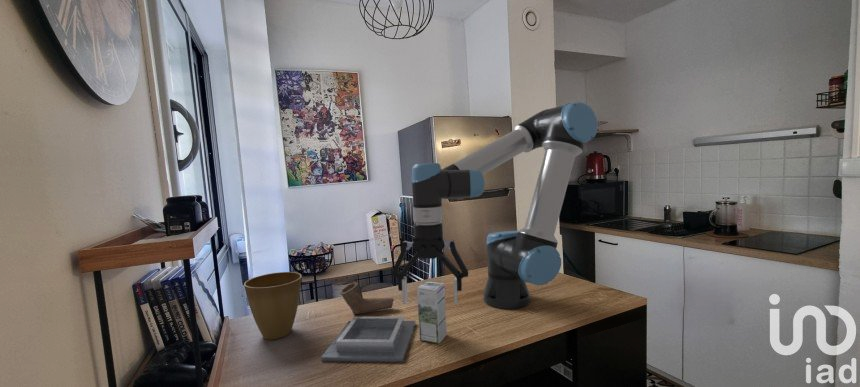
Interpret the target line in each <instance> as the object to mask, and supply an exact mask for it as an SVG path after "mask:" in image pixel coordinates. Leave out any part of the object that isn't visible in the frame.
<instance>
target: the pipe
mask: <svg viewBox="0 0 860 387" xmlns="http://www.w3.org/2000/svg"><path fill="white" fill-rule="evenodd" d="M339 293H340V295H341V296H342V298H343V300H344V301H345V303H346V305H348V306H349V308H350V309H351V311H352V313H353V315H358V314H365V313H372V312H377V311H384V310H388V309H391V308H392V307H393V306H394V305H393V304H394V301H395V300H394V298H393V297H370V298H369V297H368V298H364V297H363V293H362V290H361V288H360V286H359V283H357V282H351V283H349V284H348V285H346V286H345V287H343V288H342V289H341V290H340V292H339Z"/></svg>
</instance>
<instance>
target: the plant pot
mask: <svg viewBox="0 0 860 387" xmlns="http://www.w3.org/2000/svg"><path fill="white" fill-rule="evenodd" d="M243 285H244V286H243V287H244V292H245V295H246V299H247V303H248V305H249V309H250V312H251V314H252V316H253V319H254V321H255V324H256V326H257V328H258V330H259V332H260V334H261V336H262V338H263V339H265V340H278V339H282V338H285V337H287V336H289V334H290V333H291V332H292V329H293V327H294V323H295V319H296V316H297V312H298V307H299V301H300V295H301V287H302V274H301V273H299V272H295V271H282V272H280V271H279V272H273V273H266V274H265V273H264V274H262V275H258V276H254V277H252V278H250V279H248V280H246V281H245V282H244V284H243Z"/></svg>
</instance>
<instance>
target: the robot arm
mask: <svg viewBox="0 0 860 387" xmlns="http://www.w3.org/2000/svg"><path fill="white" fill-rule="evenodd" d="M597 133H598V119H597V115H596V114H595V111H594V109H593V108H592V107H591V106H589V105H588V104H587V103H585V102H581V101H576V102H568V103H565V104H563V105H560V106H555V107H551V108H548V109H543V110H541V111H539V112H537V113H535V114H533V115H532V116H531V117H529V118H527V119H526V120H523V121H522V122H521V123H519V124H517V125H515V126H513V128H512V131H510V132H509V133H507V134H505V135H503V136H500V138H498V139H496V140H494V141H491V142H490V143H488V144H486V145H484V146H483V147H480V148H479V149H477V150H475V151H474V152H471V153H470V154H468V155H466V156H465V157H461V159H459V160H457V161H456V162H453V163H451V164H450V165H448V166H445V167H444V168H441V167H442V166H441V164H440V163H438V162H437V163H436V162H434V163H433V162H432V163H429V162H427V163H416V164H414V165H413V166H412V168H411V182H410V183H411V190H412V214H413V215H412V216H413V217H412V218H413V222H414V224H413V241H408V240H404V241H403V242H402V243H401V251H400V252H399V255H398V257H397V259H396V262H395V264H394V266H393V268H392V271H391V272H390V276H391V277H393V278H396V279H397V286H398V287H397V288H398V291H399V292H402V293H401V294H402V305H407V302H408V282H407V280H408V279H407V276H405V275H406V274H407V273H408V271H409V270H410V269H411V267H413V265H414V264H415V263H416V261H417V260H418V259H419V258H421V259H423V260H427V259H430V260H434V259H436V258H437V259H438V260H439V261H441V262H442V264H443V265H444V266H445V267H446V268H447V269H448V270H449V271H450V272H451V274H452V275H453V276H454V278H453V292H454V293H453V294H454V296H453V298H454V305H458V302H459V298H458V296H459V293H458V292H461V291H462V289H463V288H462V287H463V286H462V280H463V278H467V277H468V276H469V270H468V268H467V267H466V265H465V263H464V261H463V259H462V257H461V255H460V253H459V251H458V249H457V248H456V241H455V240H454V239H451V240H450V241H444V237H443V236H444V234H443V224H442V223H441V222H442V221H443V203H442V200H446V199H463V198H464V199H466V198H469V199H471V198H477V197H480V196H482V194H483V193H484V191H485V176H484V175H485V174H486V173H489V172H490V171H492V170H494V169H495V168H497V167H499V166H501V165H502V164H504V163H506V162H507V161H510V160H512V159H513V158H515V157H516V156H518V155H521V153H522V154H523V153H530V152H532V151H534V150H536V149H538V148H543V149H544V151H545V152H544V156H543V159H542V163H541V167H540V171H539V174H538V177H537V181H536V185H535V188H534V191H533V196H532V198H531V202H530V207H529V210H528V213H527V216H526V219H525V220H526V221H525V224H524V227H523V228H521V229H519V230H504V231H496V232H491V233H488V235H487V236H486V255H487V256H486V260H487V279H486V283H485V287H484V290H483V301H484V303H485V304H486V305H488V306H490V307H493V308H495V309H496V308H498V309H504V310H506V309H508V310H509V309H510V310H513V309H520V308H521V309H522V308H524V307H526V306H528V305H529V304H530V302H531V294H530V292H529V288H528V285H527V283H528V284H532V285H535V286H543V285H546V284H547V285H548V283H550V282H551V281H553V280H554V279H555V278H556V277H557V276H558V274H559V273H560V270H561V267H562V258H561V254H560V252H559V251H558V250H557V247H558V245H559V244H558V243H559V242H558V239H557V238H556V236H555V233H556V230H557V226H558V221H559V218H560V216H561V211H562V207H563V204H564V200H565V197H566V192H567V188H568V185H569V181H570V177H571V174H572V169H573V166H574V162H575V159H576V157H578V156H579V155H581V154H583V150H584V147H585V144H586V143H588V142H589V141H591V140H592V139H594V138H595V137H596V134H597ZM445 247H446V248H447V250H449V251H450V252H451V254H452V256H453V258H454V260H455V262H456V264H457V266H458V268H459V269H460V270H459V269H458V268H457V267H456V266H455V264H453V262H452V261H451V260H450V259H449V257H447V256H446V254H445V253H444V252H443V250H444V248H445ZM411 248H412V249H413V250H414V251H415V254H413V256H412V257H411V259H409V261H408V262H407V263H406V264H405V266H404V267H403V268H402V270H401V271H399V269H400V267H401V265H402V263H403V260H404V259H405V256H406V255H407V252H408V251H409V250H410V249H411Z"/></svg>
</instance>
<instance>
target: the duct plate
mask: <svg viewBox="0 0 860 387" xmlns="http://www.w3.org/2000/svg"><path fill="white" fill-rule="evenodd" d="M415 327H416V320H405V317H404V316H354V317H353V318H352V320H348V322H347V323H346V324H345V326H344V327H343V328H342V330H341V331H340V332H339V333H338V335H337V336H336V337H335V338H334V340H333V341H331V344H330V345H329V346H328V347H327V349H326V350H325V352H324V353H323V354H322V356H321V357H320V358H321V359H320V361H321V362H337V363H338V362H340V363H341V362H345V363H347V362H348V363H352V362H353V363H404V361H405V357H406V354H407V352H408V348H409V345H410V343H411V340H412V336H413V333H414V331H415Z"/></svg>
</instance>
